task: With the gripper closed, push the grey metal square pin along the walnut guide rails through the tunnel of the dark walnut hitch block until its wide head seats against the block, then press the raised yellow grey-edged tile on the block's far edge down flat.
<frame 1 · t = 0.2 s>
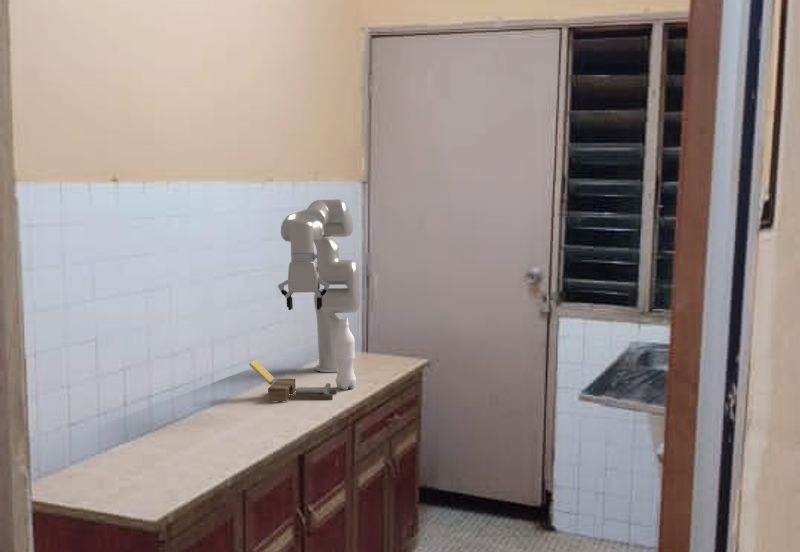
hand: (304, 309, 284), 30 cm above the worktop, fingers open, 9 cm apart
yellow grey-edged tile: (263, 371, 291), point 9 cm above the worktop, hinge at 45.0°
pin: (311, 397, 290), on the worktop
hitch block: (282, 396, 291), on the worktop
water bottle: (346, 388, 301), on the worktop
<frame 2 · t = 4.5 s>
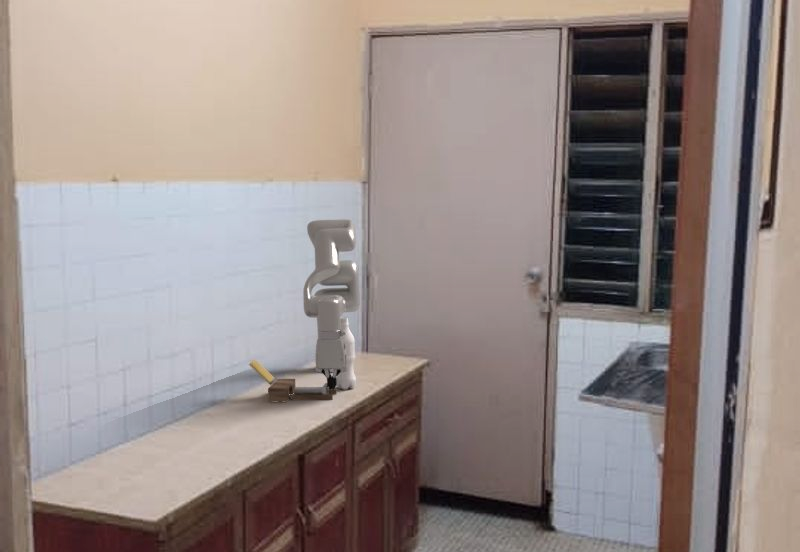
hand: (332, 388, 289), 3 cm above the worktop, fingers closed
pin: (309, 396, 290), on the worktop, touching gripper
everything else where it was.
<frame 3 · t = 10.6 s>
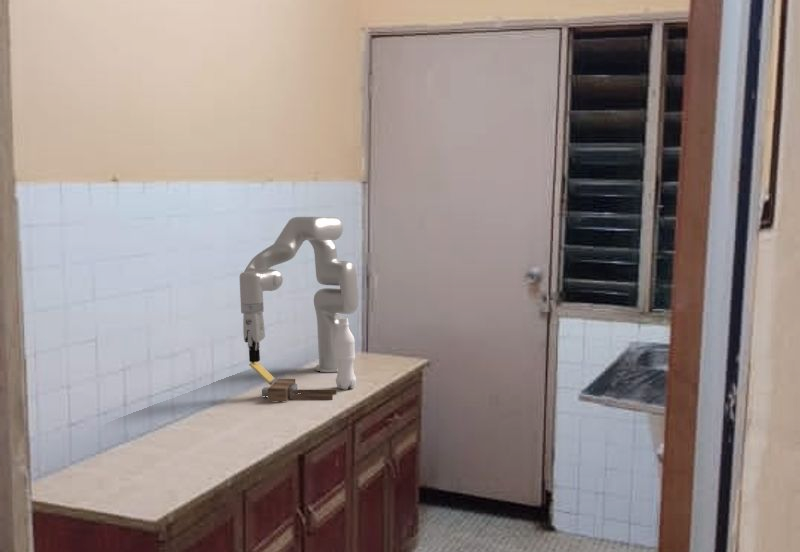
hand: (254, 361, 291), 12 cm above the worktop, fingers closed
yellow grey-edged tile: (263, 372, 291), point 9 cm above the worktop, hinge at 44.8°, touching gripper
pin: (277, 397, 291), on the worktop
everything else where it was.
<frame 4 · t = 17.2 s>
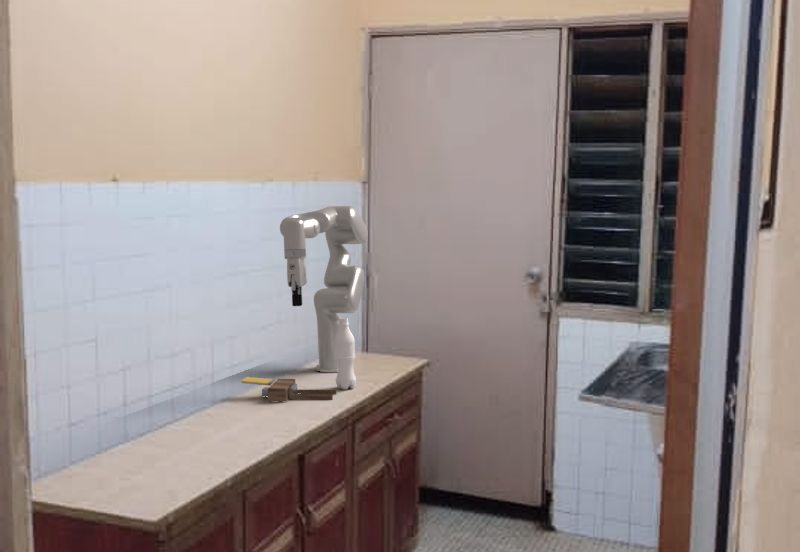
hand: (297, 305, 302), 29 cm above the worktop, fingers closed
yellow grey-edged tile: (258, 380, 292), point 6 cm above the worktop, hinge at 5.4°
everything else where it was.
at the end: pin 0.4 cm from the target spot, on the worktop; yellow grey-edged tile at +5° (first picture: +45°) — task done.
